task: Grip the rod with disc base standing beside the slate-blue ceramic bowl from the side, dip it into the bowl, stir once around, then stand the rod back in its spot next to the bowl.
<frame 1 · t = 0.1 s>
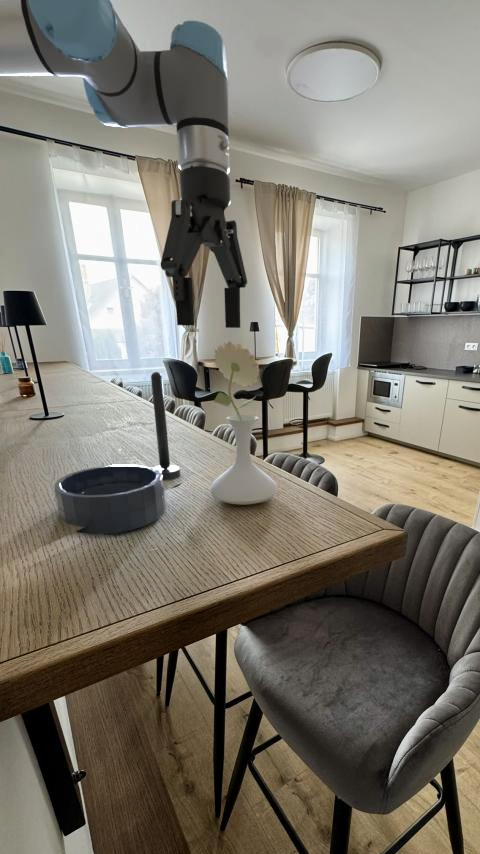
hand: (211, 326, 69), 27 cm above the counter, tool pointing down, fingers open, 13 cm apart
flower in vase: (241, 497, 71), on the counter
bowl: (115, 516, 63), on the counter
rod with disc base: (166, 484, 76), on the counter
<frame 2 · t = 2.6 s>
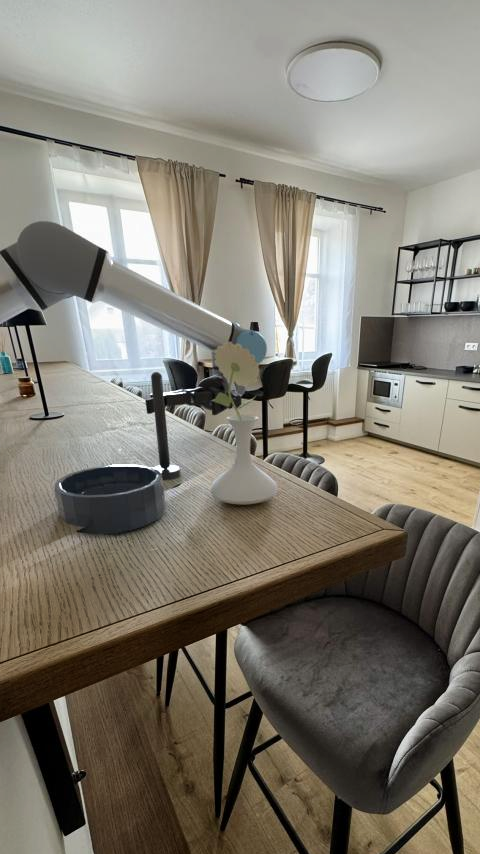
hand: (180, 407, 80), 13 cm above the counter, tool horizontal, fingers open, 13 cm apart
nothing on the counter moved.
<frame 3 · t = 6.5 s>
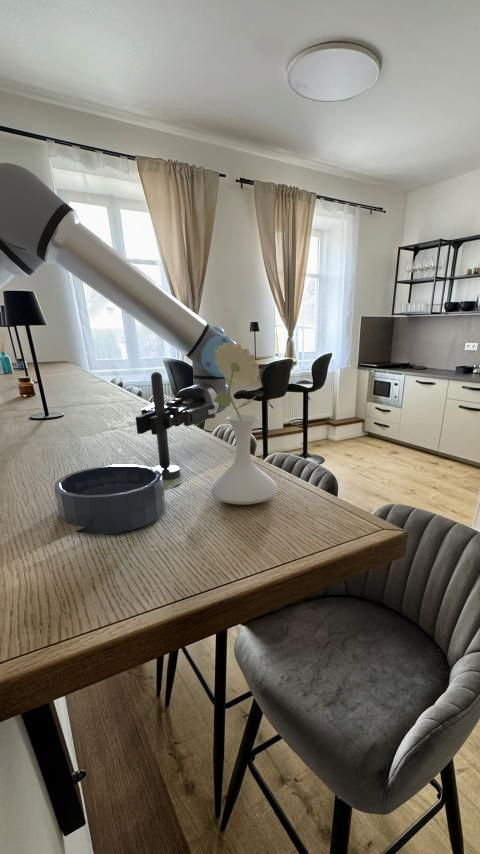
hand: (146, 425, 67), 12 cm above the counter, tool horizontal, fingers closed on rod with disc base, 2 cm apart
rod with disc base: (166, 484, 76), on the counter, touching gripper
everything else where it was.
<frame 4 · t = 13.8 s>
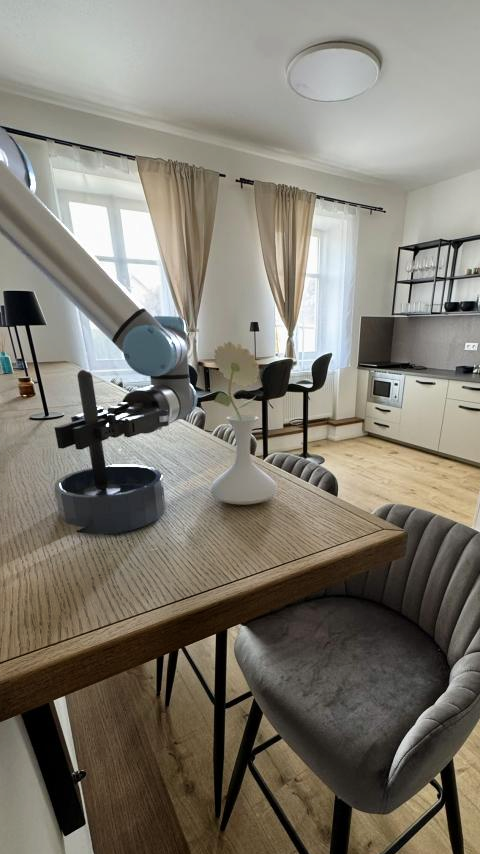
hand: (68, 438, 52), 13 cm above the counter, tool horizontal, fingers closed on rod with disc base, 2 cm apart
rod with disc base: (105, 508, 62), point 1 cm above the counter, touching gripper
everything else where it was.
when the fingers open (12 cm above the counter, at t = 21.0 s): rod with disc base stays where it is, on the counter.
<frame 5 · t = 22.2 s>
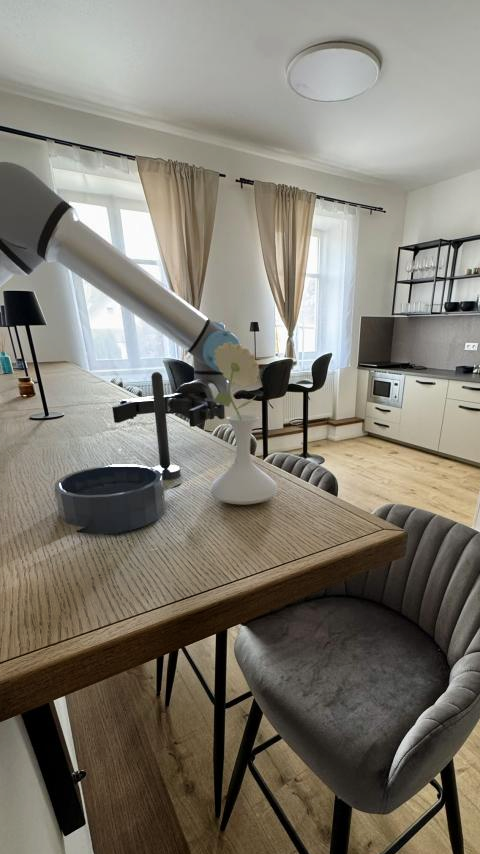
hand: (152, 416, 69), 13 cm above the counter, tool horizontal, fingers open, 13 cm apart
rod with disc base: (166, 484, 76), on the counter
everything else where it was.
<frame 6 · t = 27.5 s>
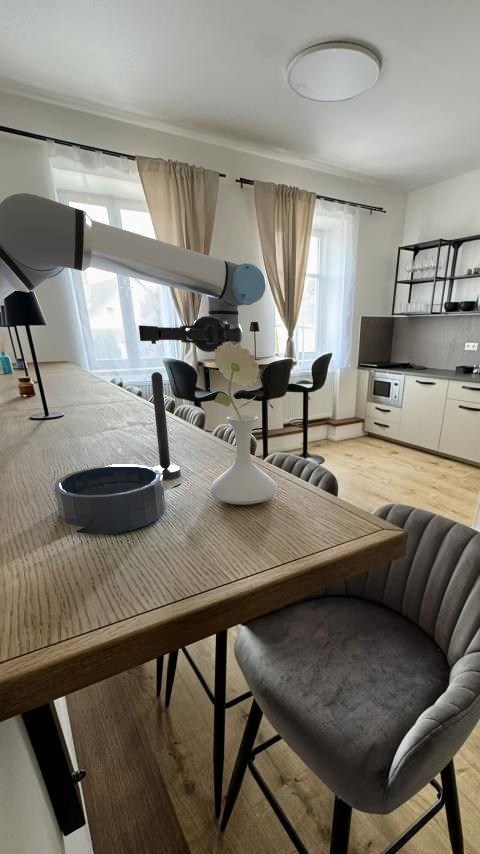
hand: (175, 333, 76), 26 cm above the counter, tool horizontal, fingers open, 13 cm apart
nothing on the counter moved.
at the end: rod with disc base 0.0 cm from the target spot, on the counter; rod with disc base tilted 0°; the gripper is holding nothing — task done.
